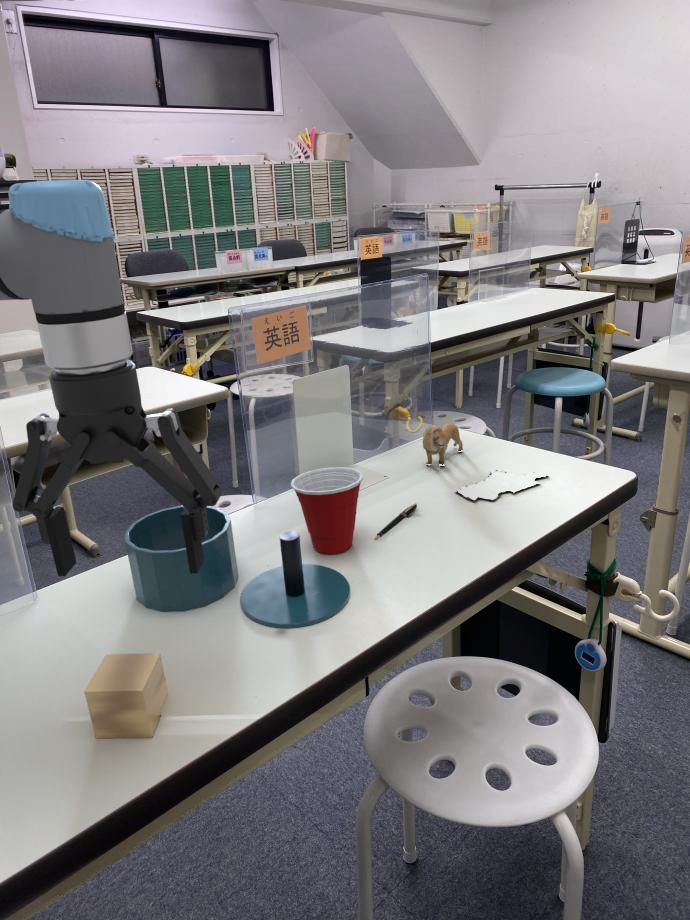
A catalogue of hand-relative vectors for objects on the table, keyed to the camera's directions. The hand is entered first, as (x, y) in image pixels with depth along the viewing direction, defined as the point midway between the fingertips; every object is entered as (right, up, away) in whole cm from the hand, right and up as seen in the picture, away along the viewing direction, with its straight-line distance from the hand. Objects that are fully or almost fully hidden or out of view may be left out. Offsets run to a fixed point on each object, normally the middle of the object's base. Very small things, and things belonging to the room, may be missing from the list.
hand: (132, 568), depth 70 cm
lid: (+15, -7, +23) cm, 28 cm away
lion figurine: (+41, +11, +66) cm, 79 cm away
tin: (-1, -7, +28) cm, 29 cm away
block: (-1, -17, +4) cm, 17 cm away
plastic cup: (+20, -3, +36) cm, 41 cm away
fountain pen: (+30, 0, +42) cm, 51 cm away
